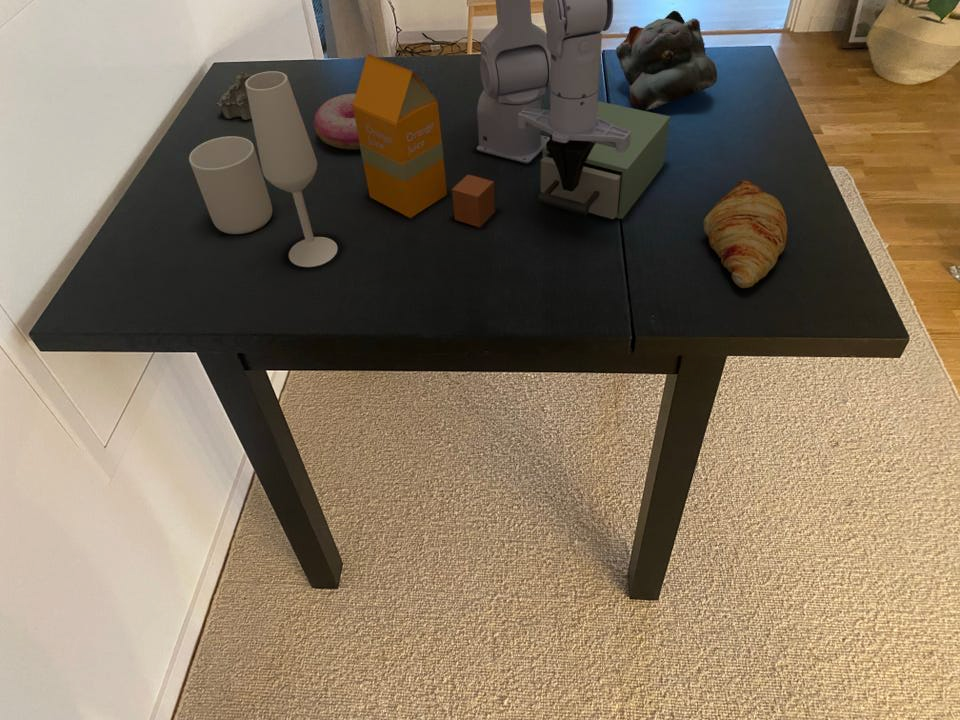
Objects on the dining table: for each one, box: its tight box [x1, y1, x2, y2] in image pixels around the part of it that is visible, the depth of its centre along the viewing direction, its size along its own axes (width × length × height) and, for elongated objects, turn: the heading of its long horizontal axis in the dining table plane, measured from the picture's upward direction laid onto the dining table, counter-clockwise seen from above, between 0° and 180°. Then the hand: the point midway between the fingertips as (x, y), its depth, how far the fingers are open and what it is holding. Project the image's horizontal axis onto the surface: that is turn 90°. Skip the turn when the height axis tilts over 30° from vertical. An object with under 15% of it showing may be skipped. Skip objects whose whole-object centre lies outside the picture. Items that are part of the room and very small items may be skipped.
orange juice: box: [352, 53, 448, 219], centre depth 100 cm, size 8×9×20 cm
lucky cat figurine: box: [615, 10, 718, 112], centre depth 121 cm, size 15×12×14 cm
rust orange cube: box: [451, 173, 496, 228], centre depth 101 cm, size 4×4×5 cm
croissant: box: [702, 179, 788, 289], centre depth 93 cm, size 21×10×8 cm, turn 167°
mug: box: [188, 135, 273, 235], centre depth 103 cm, size 9×12×11 cm
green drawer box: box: [542, 100, 671, 220], centre depth 105 cm, size 15×12×8 cm
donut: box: [313, 92, 360, 151], centre depth 119 cm, size 14×13×5 cm
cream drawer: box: [537, 157, 622, 220], centre depth 102 cm, size 19×11×6 cm, turn 149°
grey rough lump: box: [215, 70, 253, 121], centre depth 129 cm, size 11×8×4 cm
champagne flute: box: [245, 70, 339, 268], centre depth 91 cm, size 7×7×24 cm
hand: (570, 186), depth 97 cm, fingers closed
